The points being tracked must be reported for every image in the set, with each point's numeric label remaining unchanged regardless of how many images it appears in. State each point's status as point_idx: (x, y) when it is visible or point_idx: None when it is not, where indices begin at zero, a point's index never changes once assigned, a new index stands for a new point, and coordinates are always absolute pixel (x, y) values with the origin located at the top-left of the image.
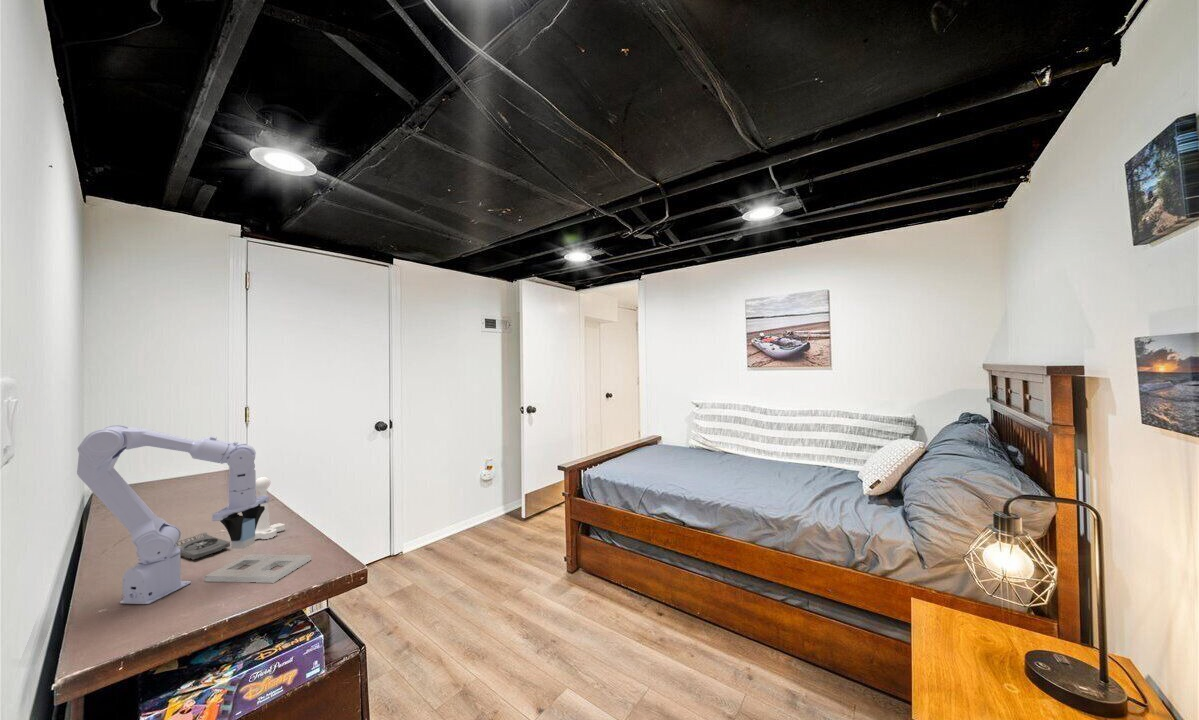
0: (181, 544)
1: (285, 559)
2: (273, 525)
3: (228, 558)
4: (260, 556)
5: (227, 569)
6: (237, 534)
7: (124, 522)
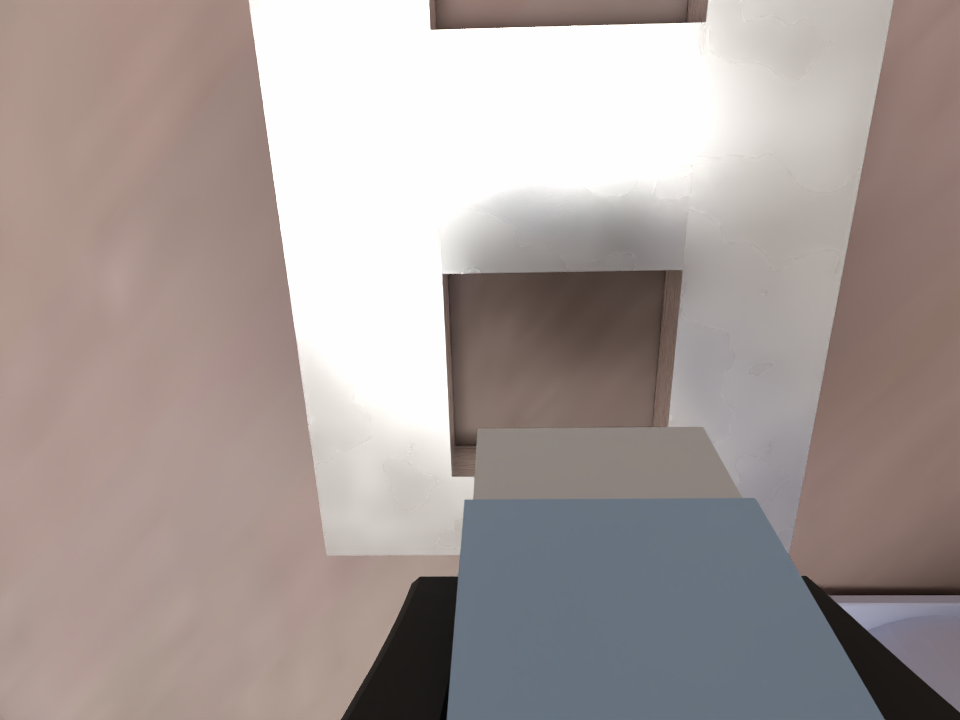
0: None
1: None
2: None
3: (349, 696)
4: (354, 374)
5: None
6: (922, 691)
7: None
